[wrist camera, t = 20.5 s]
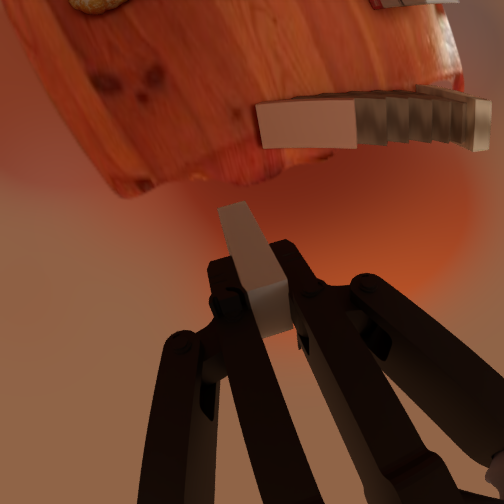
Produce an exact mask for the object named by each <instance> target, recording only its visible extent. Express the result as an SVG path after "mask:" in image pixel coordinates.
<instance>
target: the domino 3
mask: <svg viewBox="0 0 504 504" xmlns="http://www.w3.org/2000/svg"><path fill="white" fill-rule="evenodd" d="M328 95H341V96H373V97H386V105H387V137H388V141H393V142H402V143H409V103H408V97H404V96H393V95H379V94H357V93H322V94H320V95H318V96H328Z"/></svg>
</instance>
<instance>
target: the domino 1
mask: <svg viewBox="0 0 504 504" xmlns="http://www.w3.org/2000/svg"><path fill="white" fill-rule="evenodd" d="M255 106H256V111H257V117H258V122H259V128H260V134H261V139H262V145H263V149H266V148H354V149H356V148H357V127H356V112H355V100H354V98H311V99H291V100H278V101H266V102H260V103H258V104H256V105H255Z"/></svg>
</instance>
